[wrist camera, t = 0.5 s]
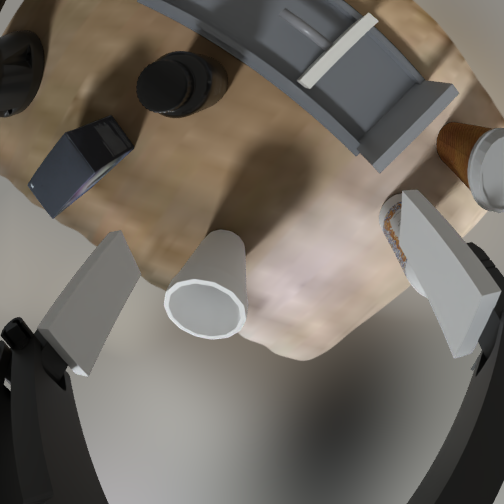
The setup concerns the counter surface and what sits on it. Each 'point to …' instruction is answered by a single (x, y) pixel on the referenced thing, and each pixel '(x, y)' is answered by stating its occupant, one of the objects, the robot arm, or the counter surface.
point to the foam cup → (211, 288)
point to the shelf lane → (335, 79)
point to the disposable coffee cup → (476, 160)
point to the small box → (78, 163)
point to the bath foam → (397, 236)
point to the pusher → (327, 44)
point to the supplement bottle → (181, 84)
